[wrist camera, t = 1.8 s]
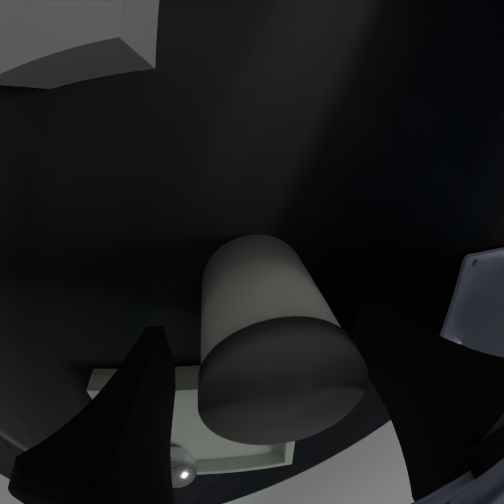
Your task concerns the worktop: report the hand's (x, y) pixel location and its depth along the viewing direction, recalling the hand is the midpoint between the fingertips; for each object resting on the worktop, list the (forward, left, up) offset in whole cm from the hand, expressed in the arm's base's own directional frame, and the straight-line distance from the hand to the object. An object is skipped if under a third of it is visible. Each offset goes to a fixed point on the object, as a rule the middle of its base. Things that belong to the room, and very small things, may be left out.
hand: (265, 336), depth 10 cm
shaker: (0, 0, -4) cm, 4 cm away
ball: (+7, +14, -3) cm, 16 cm away
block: (+5, -20, -4) cm, 21 cm away
